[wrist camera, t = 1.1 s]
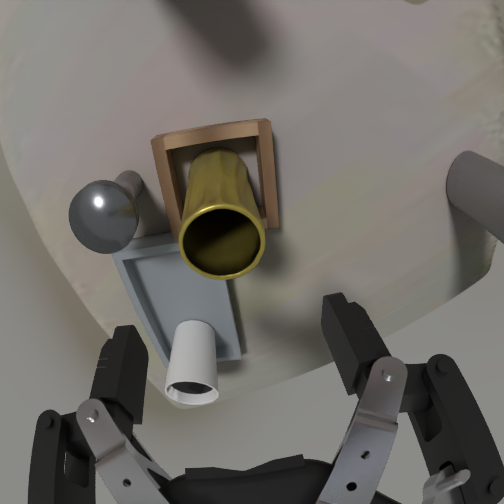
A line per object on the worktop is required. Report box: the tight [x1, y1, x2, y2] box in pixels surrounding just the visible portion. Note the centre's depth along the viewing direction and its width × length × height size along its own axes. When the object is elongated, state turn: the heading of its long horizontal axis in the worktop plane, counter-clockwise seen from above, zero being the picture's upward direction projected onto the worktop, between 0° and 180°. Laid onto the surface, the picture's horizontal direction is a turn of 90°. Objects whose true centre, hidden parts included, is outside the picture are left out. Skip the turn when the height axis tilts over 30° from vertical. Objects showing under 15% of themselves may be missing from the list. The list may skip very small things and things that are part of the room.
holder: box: [151, 118, 279, 243], centre depth 27 cm, size 11×11×3 cm
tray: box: [112, 232, 242, 367], centre depth 36 cm, size 12×21×3 cm, turn 6°
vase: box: [179, 148, 266, 280], centre depth 23 cm, size 6×6×14 cm
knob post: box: [69, 171, 143, 254], centre depth 24 cm, size 6×6×9 cm
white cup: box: [165, 320, 218, 405], centre depth 35 cm, size 7×7×10 cm
